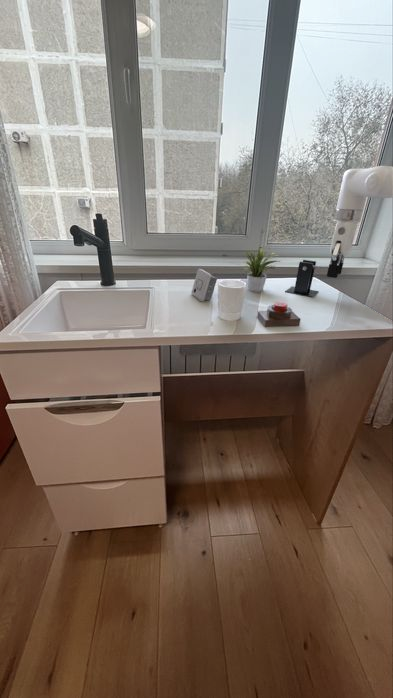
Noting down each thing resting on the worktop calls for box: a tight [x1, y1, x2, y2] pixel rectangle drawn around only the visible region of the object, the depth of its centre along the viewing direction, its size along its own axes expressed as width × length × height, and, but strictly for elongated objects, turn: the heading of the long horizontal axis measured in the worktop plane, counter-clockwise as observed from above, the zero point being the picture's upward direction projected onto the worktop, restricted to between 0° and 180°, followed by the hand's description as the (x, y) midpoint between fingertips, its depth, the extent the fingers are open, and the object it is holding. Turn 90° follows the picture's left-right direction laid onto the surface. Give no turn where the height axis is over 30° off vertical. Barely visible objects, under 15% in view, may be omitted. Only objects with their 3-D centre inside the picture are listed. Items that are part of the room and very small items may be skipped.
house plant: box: [243, 245, 281, 292], centre depth 102 cm, size 14×14×16 cm
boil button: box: [273, 301, 288, 312], centre depth 80 cm, size 4×4×2 cm
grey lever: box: [312, 265, 329, 271], centre depth 98 cm, size 11×5×2 cm, turn 56°
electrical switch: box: [191, 268, 218, 303], centre depth 98 cm, size 9×5×9 cm, turn 22°
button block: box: [256, 304, 301, 328], centre depth 81 cm, size 10×7×4 cm
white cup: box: [217, 279, 247, 322], centre depth 82 cm, size 8×8×10 cm
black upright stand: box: [284, 259, 319, 298], centre depth 102 cm, size 10×8×12 cm
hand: (333, 274), depth 96 cm, fingers closed on grey lever, 5 cm apart
